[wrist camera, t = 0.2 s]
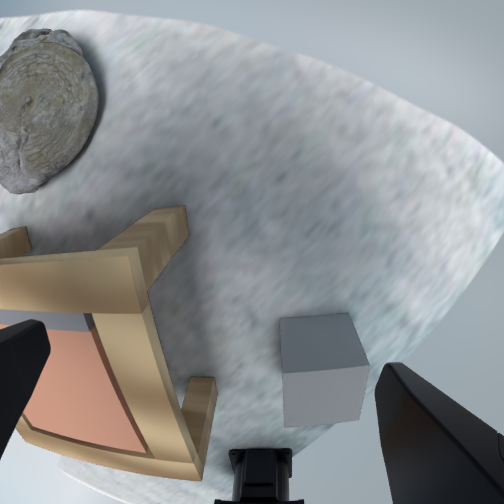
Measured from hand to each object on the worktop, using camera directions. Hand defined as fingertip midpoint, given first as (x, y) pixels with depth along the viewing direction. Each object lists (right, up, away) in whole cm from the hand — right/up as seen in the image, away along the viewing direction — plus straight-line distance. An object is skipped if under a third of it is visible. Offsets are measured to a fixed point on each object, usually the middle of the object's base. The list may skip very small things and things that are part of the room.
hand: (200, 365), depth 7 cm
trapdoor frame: (-10, -2, +16) cm, 19 cm away
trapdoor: (-11, -5, +8) cm, 14 cm away
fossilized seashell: (-14, +10, +14) cm, 22 cm away
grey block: (+6, -4, +16) cm, 17 cm away
